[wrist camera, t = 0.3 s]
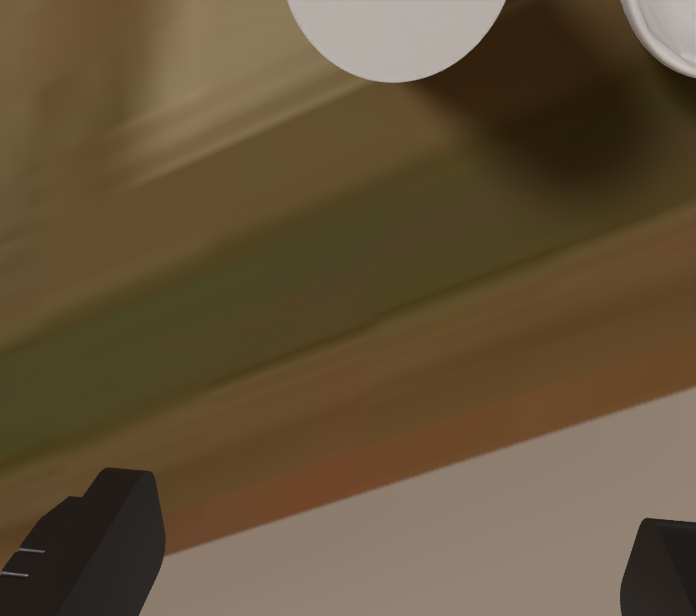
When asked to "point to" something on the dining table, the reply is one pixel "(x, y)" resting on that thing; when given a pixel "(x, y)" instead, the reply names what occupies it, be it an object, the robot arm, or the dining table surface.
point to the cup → (395, 33)
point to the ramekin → (666, 31)
